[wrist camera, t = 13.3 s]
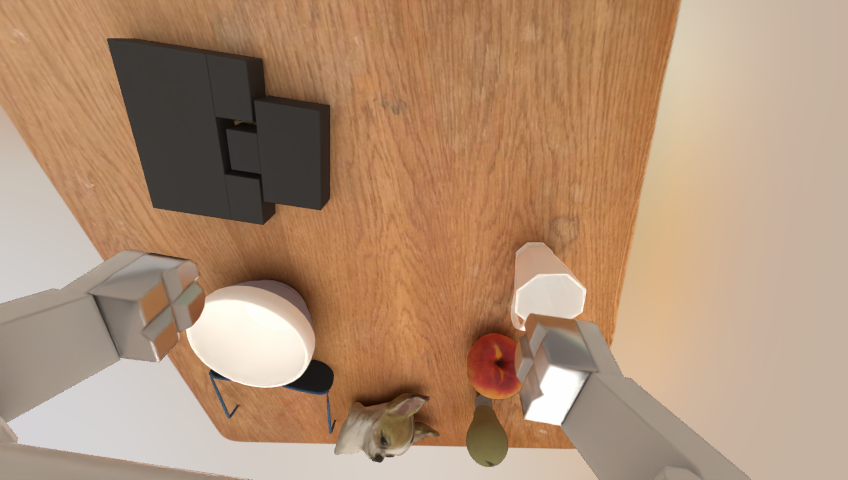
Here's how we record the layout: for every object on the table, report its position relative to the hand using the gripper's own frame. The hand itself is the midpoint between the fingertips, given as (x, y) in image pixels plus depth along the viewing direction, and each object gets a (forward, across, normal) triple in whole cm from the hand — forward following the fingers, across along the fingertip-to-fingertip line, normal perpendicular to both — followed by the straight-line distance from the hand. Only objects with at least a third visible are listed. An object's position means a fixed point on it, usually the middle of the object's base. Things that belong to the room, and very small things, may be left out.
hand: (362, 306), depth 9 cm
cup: (+29, -14, +16) cm, 36 cm away
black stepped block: (+29, +14, +6) cm, 33 cm away
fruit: (+29, -13, +29) cm, 43 cm away
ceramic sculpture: (+29, 0, +46) cm, 54 cm away
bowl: (+29, +17, +28) cm, 44 cm away
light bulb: (+29, -14, +40) cm, 51 cm away
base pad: (+29, +22, +6) cm, 37 cm away
